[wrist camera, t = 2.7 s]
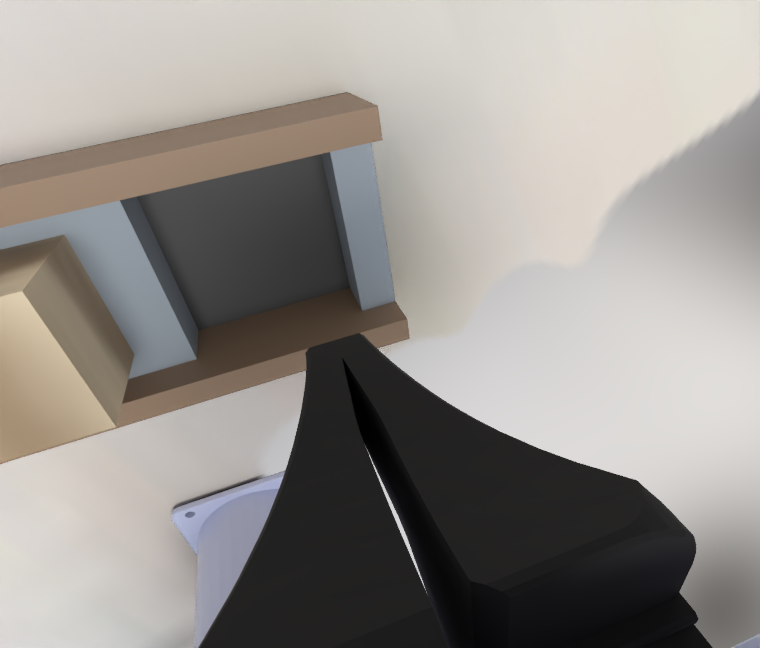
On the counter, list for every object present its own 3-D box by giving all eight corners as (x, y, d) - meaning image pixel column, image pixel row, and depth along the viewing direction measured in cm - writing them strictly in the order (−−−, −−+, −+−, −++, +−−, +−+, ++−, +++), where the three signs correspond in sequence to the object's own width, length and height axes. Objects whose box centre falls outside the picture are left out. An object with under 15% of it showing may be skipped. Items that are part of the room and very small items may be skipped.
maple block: (64, 234, 15) (22, 291, 12) (134, 354, 18) (116, 426, 14) (-110, 275, 14) (-208, 349, 11) (-7, 394, 17) (-60, 480, 14)
